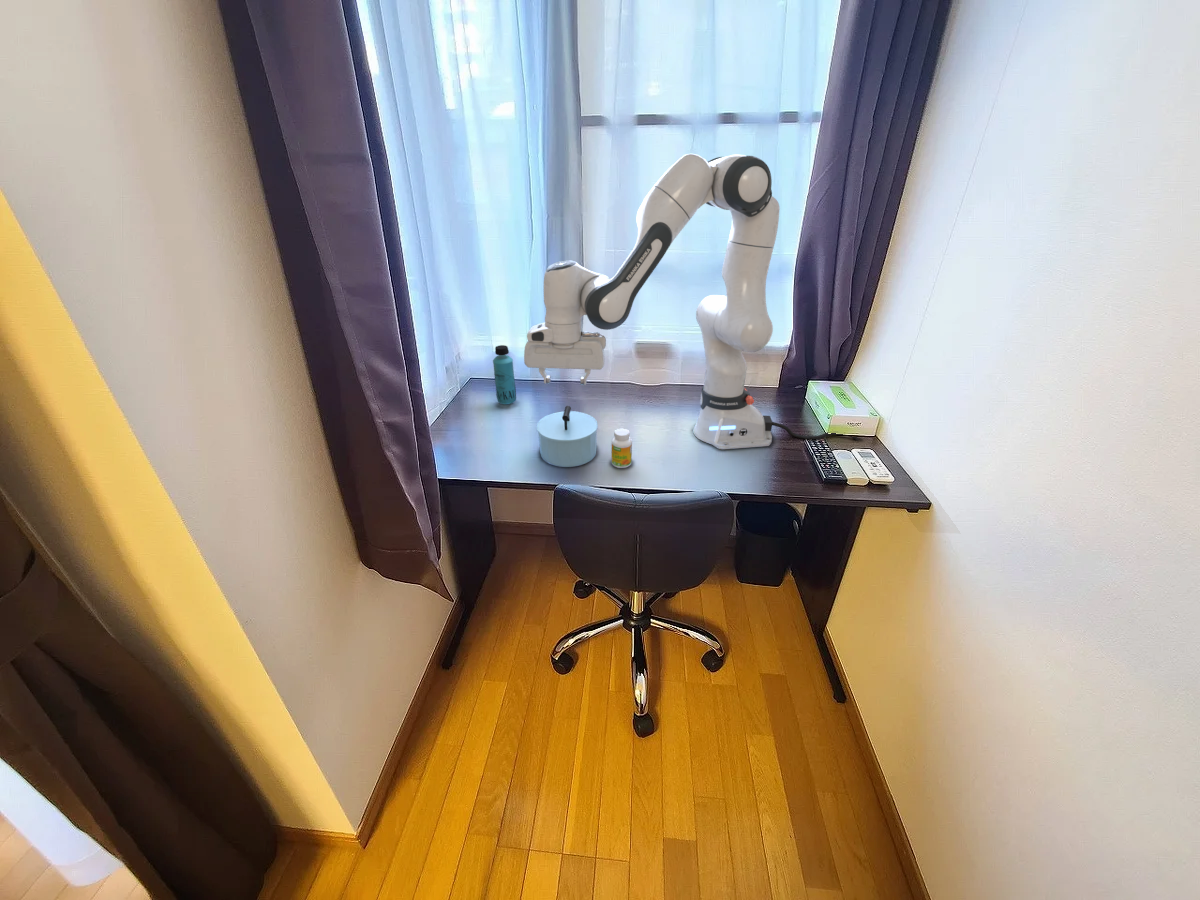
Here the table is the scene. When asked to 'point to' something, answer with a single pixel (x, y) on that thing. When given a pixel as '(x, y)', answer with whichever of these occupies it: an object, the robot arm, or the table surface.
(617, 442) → the supplement bottle
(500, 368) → the beverage bottle
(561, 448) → the pot
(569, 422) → the lid
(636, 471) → the table surface
